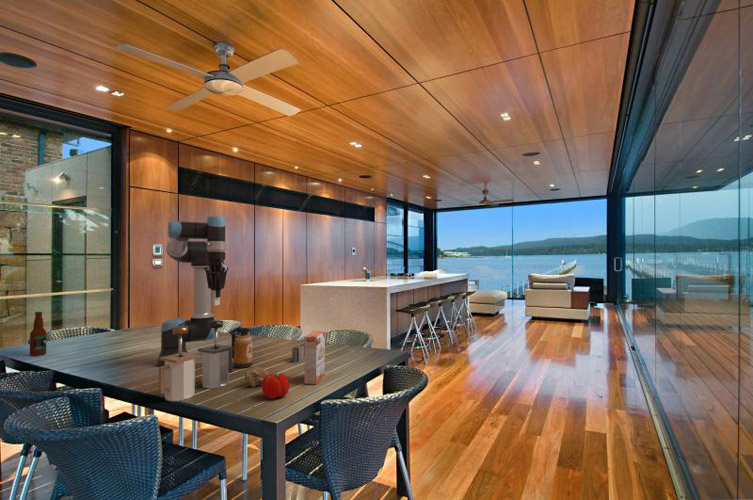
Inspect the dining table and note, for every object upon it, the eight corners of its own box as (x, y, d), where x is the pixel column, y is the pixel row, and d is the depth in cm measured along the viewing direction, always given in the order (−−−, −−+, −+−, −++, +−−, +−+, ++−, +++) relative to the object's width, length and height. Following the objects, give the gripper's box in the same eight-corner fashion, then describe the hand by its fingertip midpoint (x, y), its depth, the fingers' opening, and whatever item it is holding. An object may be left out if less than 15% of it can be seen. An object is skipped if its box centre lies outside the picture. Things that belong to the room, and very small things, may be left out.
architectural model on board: (297, 363, 210) (297, 345, 210) (292, 363, 211) (292, 344, 211) (306, 358, 221) (306, 340, 221) (301, 358, 222) (301, 340, 222)
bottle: (38, 356, 227) (39, 312, 228) (26, 356, 227) (26, 312, 228) (49, 353, 234) (50, 310, 235) (37, 353, 234) (37, 311, 235)
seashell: (258, 378, 182) (258, 361, 182) (275, 379, 180) (275, 362, 181) (242, 388, 169) (242, 369, 169) (260, 389, 167) (260, 370, 167)
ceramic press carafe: (151, 401, 154) (151, 359, 154) (183, 390, 166) (183, 352, 166) (168, 405, 149) (168, 362, 149) (199, 394, 161) (200, 354, 161)
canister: (246, 369, 198) (246, 328, 199) (226, 368, 201) (226, 328, 201) (255, 364, 207) (255, 325, 208) (236, 363, 209) (236, 325, 210)
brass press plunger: (166, 368, 158) (166, 327, 158) (182, 364, 164) (182, 325, 164) (177, 370, 154) (177, 329, 154) (194, 366, 160) (194, 326, 161)
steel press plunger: (203, 358, 172) (203, 321, 173) (217, 355, 179) (217, 319, 179) (214, 360, 169) (214, 322, 169) (228, 357, 175) (228, 320, 176)
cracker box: (317, 385, 172) (317, 336, 173) (303, 384, 173) (303, 336, 174) (325, 375, 186) (325, 330, 187) (313, 375, 187) (312, 330, 188)
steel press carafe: (197, 386, 172) (197, 349, 172) (223, 378, 183) (223, 343, 184) (213, 390, 166) (213, 351, 167) (239, 381, 178) (239, 345, 179)
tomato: (256, 399, 155) (256, 377, 155) (273, 391, 165) (273, 369, 165) (279, 403, 151) (279, 380, 151) (295, 394, 161) (295, 372, 161)
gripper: (199, 251, 175) (198, 305, 174) (219, 250, 169) (219, 306, 168) (213, 251, 182) (213, 303, 181) (233, 251, 176) (233, 304, 175)
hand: (216, 305), depth 175 cm, fingers closed
